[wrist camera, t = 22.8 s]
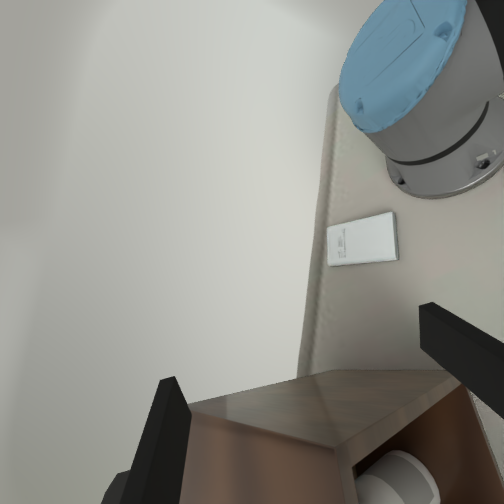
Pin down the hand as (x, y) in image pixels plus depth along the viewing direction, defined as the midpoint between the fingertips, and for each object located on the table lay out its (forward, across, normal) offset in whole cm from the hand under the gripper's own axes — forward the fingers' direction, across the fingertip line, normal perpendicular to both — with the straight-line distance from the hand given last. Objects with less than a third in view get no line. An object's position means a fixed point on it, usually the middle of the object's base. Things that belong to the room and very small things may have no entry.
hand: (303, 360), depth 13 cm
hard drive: (+31, +20, -7) cm, 38 cm away
